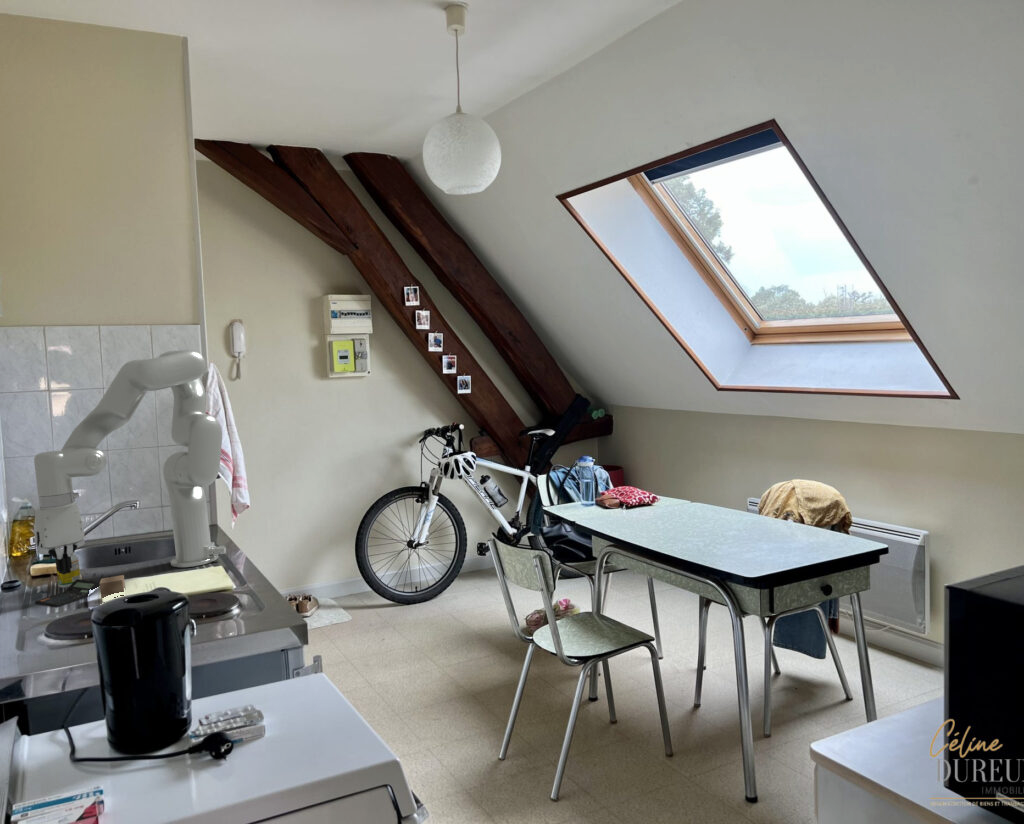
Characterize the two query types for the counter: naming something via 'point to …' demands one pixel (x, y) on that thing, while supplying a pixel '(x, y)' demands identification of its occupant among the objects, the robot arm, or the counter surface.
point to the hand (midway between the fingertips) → (64, 572)
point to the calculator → (70, 593)
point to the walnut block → (112, 585)
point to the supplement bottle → (68, 578)
